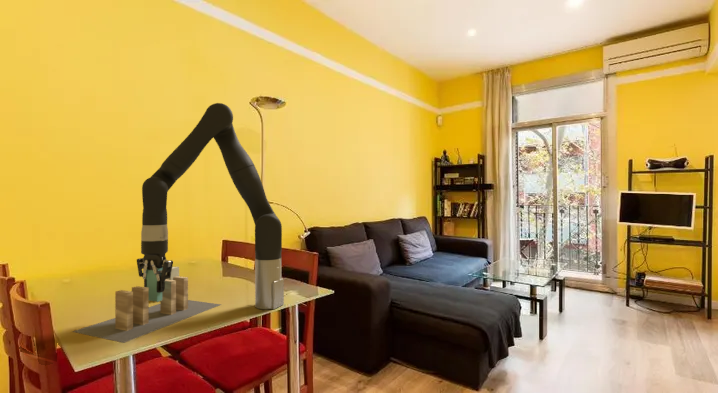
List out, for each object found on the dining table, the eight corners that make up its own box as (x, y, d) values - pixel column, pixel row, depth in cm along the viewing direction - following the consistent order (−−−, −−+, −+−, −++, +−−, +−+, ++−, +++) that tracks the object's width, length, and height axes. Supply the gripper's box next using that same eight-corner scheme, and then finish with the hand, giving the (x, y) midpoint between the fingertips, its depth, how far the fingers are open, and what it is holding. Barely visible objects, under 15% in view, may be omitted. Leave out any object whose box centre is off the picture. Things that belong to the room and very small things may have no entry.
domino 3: (157, 301, 112) (157, 267, 112) (146, 300, 113) (146, 266, 113) (162, 300, 113) (162, 266, 113) (151, 298, 115) (151, 265, 115)
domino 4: (165, 311, 120) (165, 279, 120) (175, 313, 118) (175, 280, 118) (160, 313, 118) (160, 280, 118) (171, 314, 116) (171, 281, 116)
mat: (221, 305, 127) (221, 304, 127) (123, 344, 94) (123, 342, 94) (176, 299, 135) (176, 298, 135) (72, 332, 102) (72, 331, 102)
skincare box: (180, 297, 138) (180, 266, 138) (170, 300, 134) (170, 268, 134) (167, 296, 140) (167, 265, 140) (158, 299, 136) (158, 267, 136)
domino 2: (137, 321, 110) (137, 286, 110) (148, 323, 108) (148, 287, 109) (131, 322, 109) (131, 287, 109) (143, 325, 107) (143, 289, 107)
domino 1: (121, 326, 106) (121, 290, 106) (132, 328, 104) (132, 291, 104) (115, 328, 104) (115, 291, 104) (126, 330, 102) (127, 293, 102)
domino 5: (177, 307, 124) (177, 276, 124) (188, 308, 122) (188, 277, 122) (173, 308, 123) (173, 277, 123) (183, 310, 121) (183, 278, 121)
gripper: (128, 238, 113) (127, 291, 112) (160, 241, 107) (160, 296, 107) (149, 236, 119) (149, 286, 119) (180, 238, 114) (180, 290, 114)
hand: (154, 290), depth 113 cm, fingers closed on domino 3, 5 cm apart
